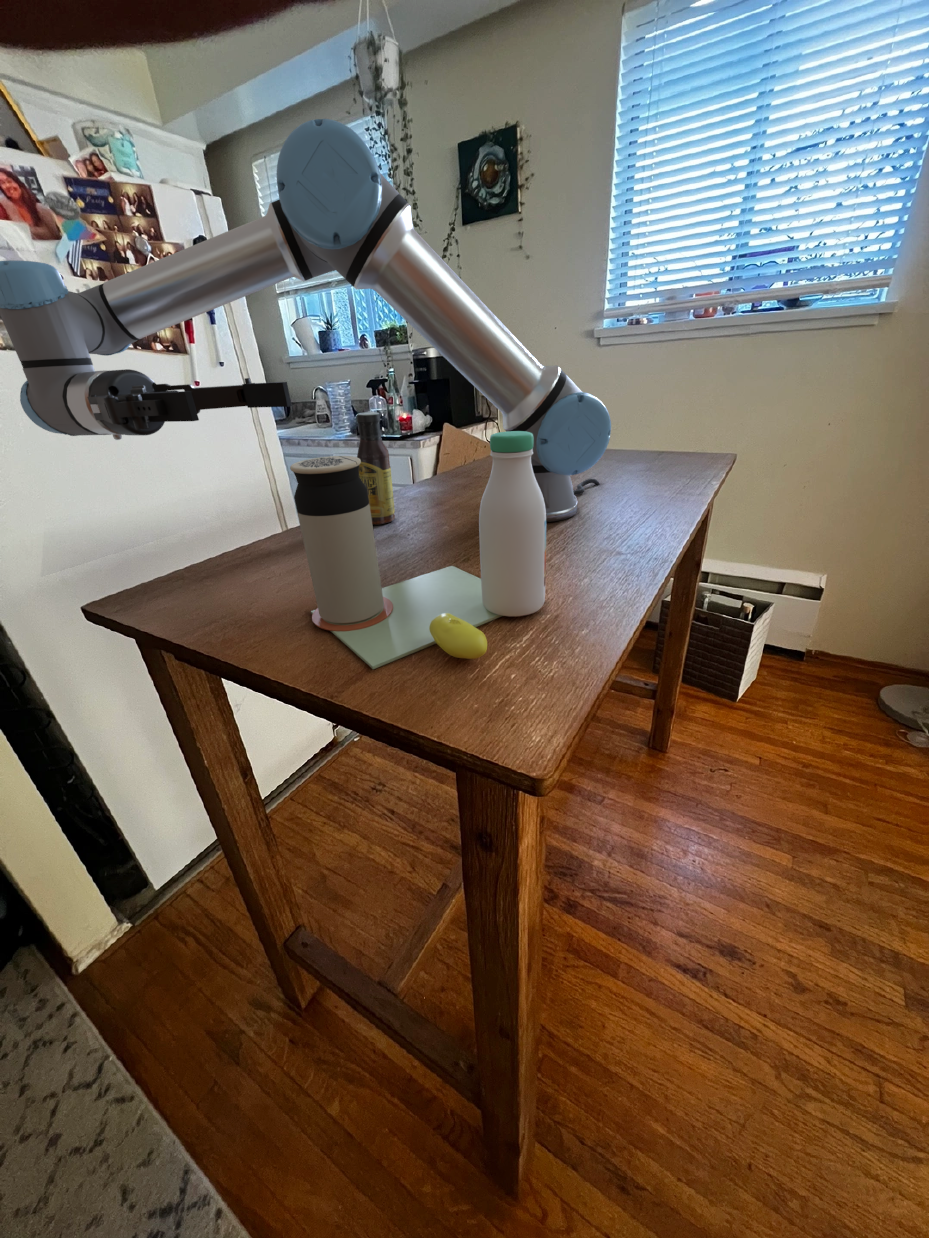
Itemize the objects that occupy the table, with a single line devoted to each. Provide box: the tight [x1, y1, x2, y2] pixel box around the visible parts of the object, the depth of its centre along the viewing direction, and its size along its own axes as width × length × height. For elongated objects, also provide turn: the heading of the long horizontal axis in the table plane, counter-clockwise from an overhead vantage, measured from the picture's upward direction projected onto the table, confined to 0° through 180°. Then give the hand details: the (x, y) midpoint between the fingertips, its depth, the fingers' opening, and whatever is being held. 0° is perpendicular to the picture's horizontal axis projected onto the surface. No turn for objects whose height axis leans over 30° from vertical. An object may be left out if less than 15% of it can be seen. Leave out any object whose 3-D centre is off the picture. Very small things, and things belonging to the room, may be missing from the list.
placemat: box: [310, 565, 504, 670], centre depth 63 cm, size 23×18×1 cm
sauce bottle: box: [356, 411, 396, 526], centre depth 94 cm, size 6×6×20 cm
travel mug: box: [289, 455, 384, 623], centre depth 58 cm, size 8×8×18 cm
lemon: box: [430, 613, 488, 660], centre depth 52 cm, size 4×8×4 cm, turn 37°
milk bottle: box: [478, 431, 547, 617], centre depth 57 cm, size 8×8×20 cm
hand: (244, 399), depth 55 cm, fingers open, 13 cm apart
